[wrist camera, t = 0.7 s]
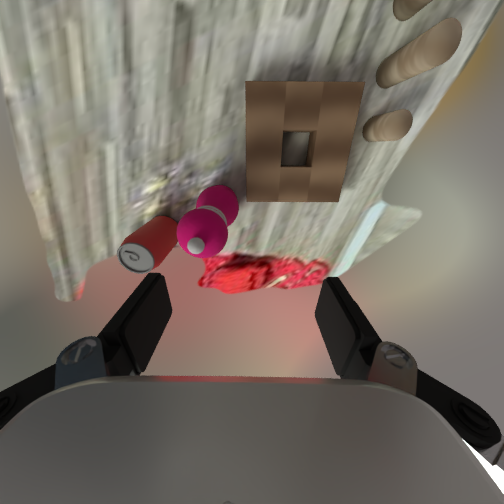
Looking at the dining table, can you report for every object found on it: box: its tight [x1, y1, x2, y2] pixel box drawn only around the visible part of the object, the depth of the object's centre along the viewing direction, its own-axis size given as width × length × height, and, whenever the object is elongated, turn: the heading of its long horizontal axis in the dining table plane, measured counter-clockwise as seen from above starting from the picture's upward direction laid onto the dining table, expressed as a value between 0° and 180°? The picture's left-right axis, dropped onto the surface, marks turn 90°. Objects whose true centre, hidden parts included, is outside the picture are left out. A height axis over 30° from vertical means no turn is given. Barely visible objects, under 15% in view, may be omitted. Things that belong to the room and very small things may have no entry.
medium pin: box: [376, 18, 462, 89], centre depth 24 cm, size 4×4×9 cm
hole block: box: [245, 81, 365, 202], centre depth 31 cm, size 16×16×4 cm
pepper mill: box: [177, 185, 239, 258], centre depth 28 cm, size 7×7×20 cm
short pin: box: [362, 109, 413, 142], centre depth 29 cm, size 4×4×6 cm
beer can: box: [117, 216, 178, 274], centre depth 35 cm, size 7×7×12 cm
